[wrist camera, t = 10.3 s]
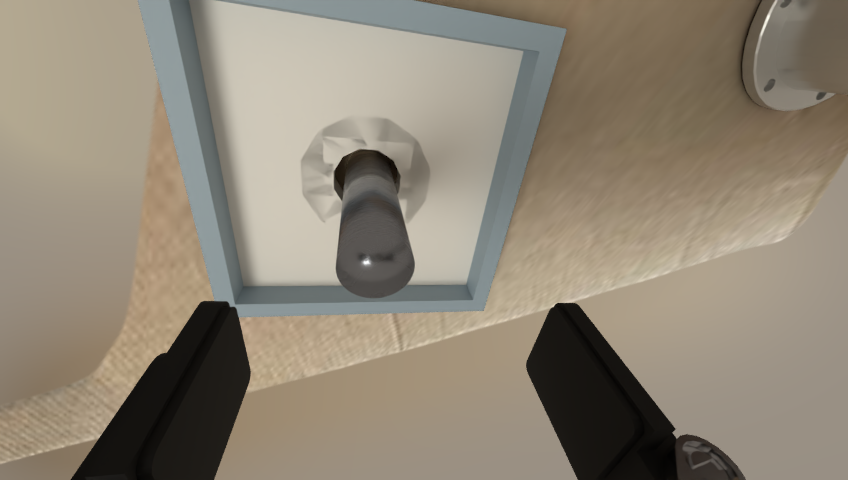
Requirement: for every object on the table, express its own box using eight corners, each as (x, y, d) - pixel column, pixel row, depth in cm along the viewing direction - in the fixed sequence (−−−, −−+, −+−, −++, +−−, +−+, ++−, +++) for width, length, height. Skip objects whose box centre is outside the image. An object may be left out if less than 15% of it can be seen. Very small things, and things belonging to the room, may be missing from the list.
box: (532, 31, 20) (566, 28, 17) (469, 281, 30) (483, 310, 27) (173, -33, 16) (123, -54, 13) (237, 282, 26) (219, 317, 23)
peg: (392, 151, 23) (419, 235, 13) (388, 193, 24) (410, 297, 14) (345, 147, 22) (335, 233, 12) (345, 190, 24) (335, 298, 13)
